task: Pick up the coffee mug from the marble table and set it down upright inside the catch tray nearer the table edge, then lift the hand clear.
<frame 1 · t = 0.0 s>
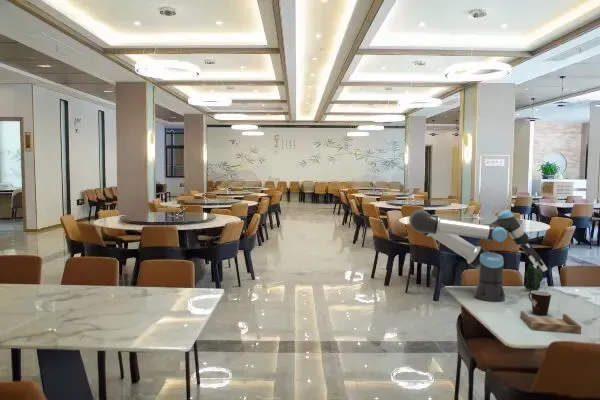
hand: (541, 267, 263), 15 cm above the table, tool tilted 35°, fingers open, 13 cm apart
catch tray: (549, 325, 212), on the table
coffee mug: (538, 313, 231), on the table
toy figurine: (532, 288, 280), on the table
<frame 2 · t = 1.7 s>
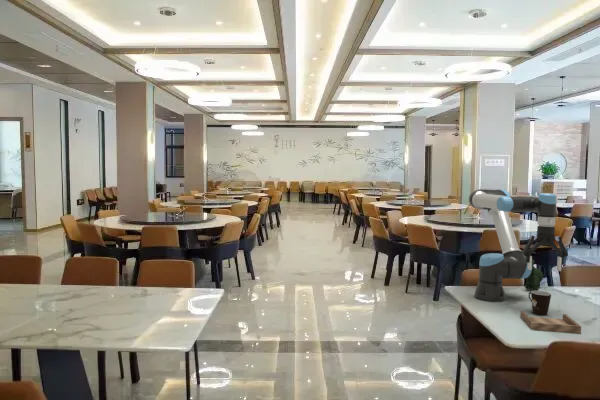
hand: (544, 270, 231), 21 cm above the table, tool pointing down, fingers open, 13 cm apart
nothing on the table moved.
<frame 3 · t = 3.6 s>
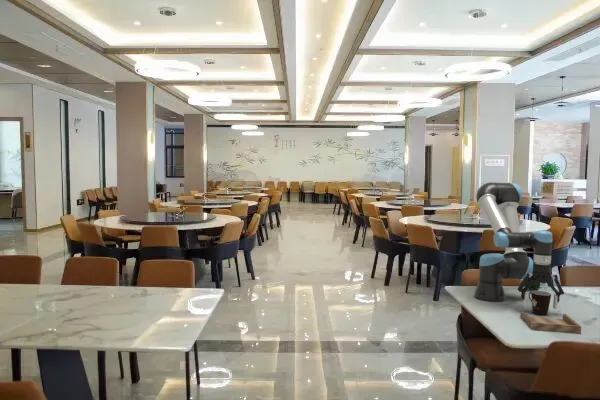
hand: (539, 307, 230), 3 cm above the table, tool pointing down, fingers open, 13 cm apart
nothing on the table moved.
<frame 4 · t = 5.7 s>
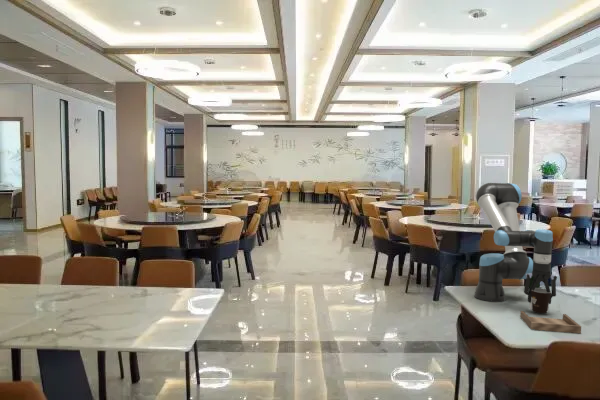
hand: (538, 309, 231), 1 cm above the table, tool pointing down, fingers closed on coffee mug, 6 cm apart
coffee mug: (538, 310, 231), point 1 cm above the table, touching gripper
everything else where it was.
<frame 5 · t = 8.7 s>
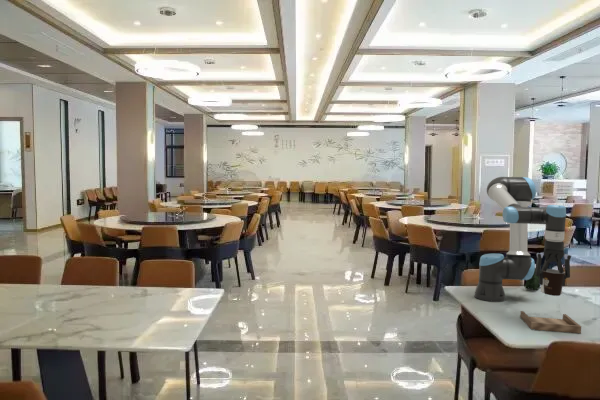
hand: (551, 292, 211), 15 cm above the table, tool pointing down, fingers closed on coffee mug, 6 cm apart
coffee mug: (551, 293, 212), point 14 cm above the table, touching gripper
everything else where it was.
when the fingers open (3 cm above the table, at t = 11.7 s): coffee mug stays where it is, resting on catch tray.
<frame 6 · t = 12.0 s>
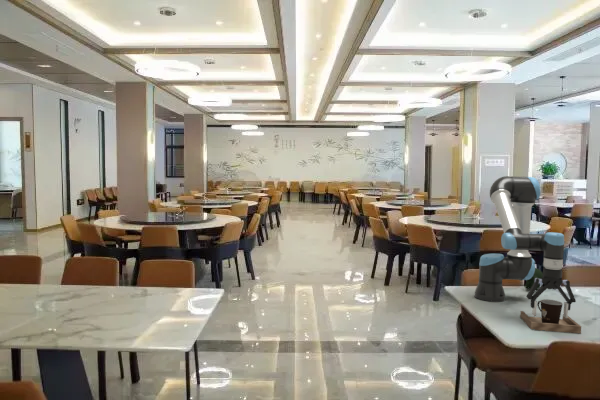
hand: (549, 316, 212), 4 cm above the table, tool pointing down, fingers open, 12 cm apart
coffee mug: (548, 323, 213), resting on catch tray
everything else where it was.
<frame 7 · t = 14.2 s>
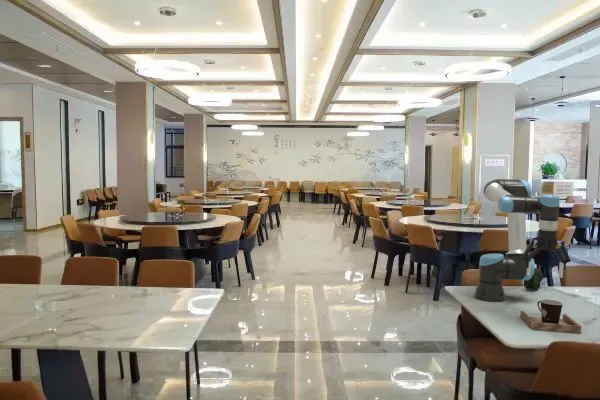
hand: (544, 276, 217), 20 cm above the table, tool pointing down, fingers open, 13 cm apart
nothing on the table moved.
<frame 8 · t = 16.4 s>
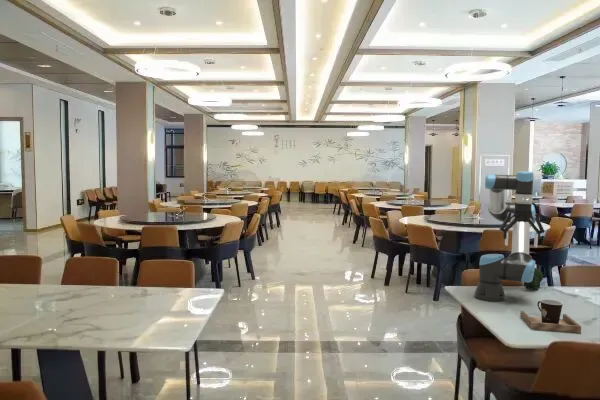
hand: (520, 246, 237), 31 cm above the table, tool pointing down, fingers open, 13 cm apart
nothing on the table moved.
at the end: coffee mug inside the target area on the catch tray (0.4 cm from its centre), point 0.4 cm above the catch tray's base; coffee mug tilted 0°; the gripper is holding nothing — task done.
